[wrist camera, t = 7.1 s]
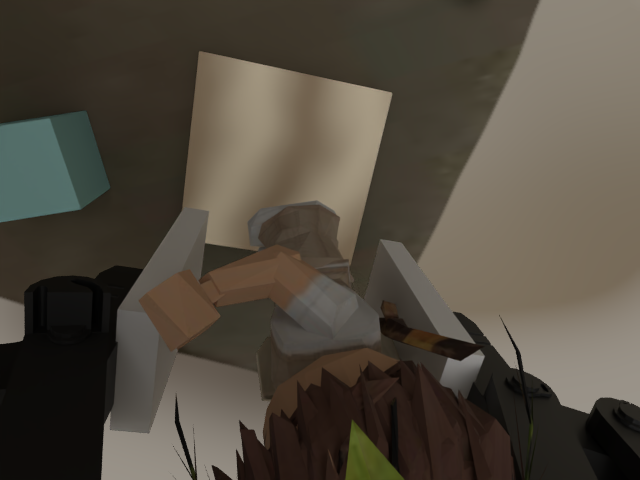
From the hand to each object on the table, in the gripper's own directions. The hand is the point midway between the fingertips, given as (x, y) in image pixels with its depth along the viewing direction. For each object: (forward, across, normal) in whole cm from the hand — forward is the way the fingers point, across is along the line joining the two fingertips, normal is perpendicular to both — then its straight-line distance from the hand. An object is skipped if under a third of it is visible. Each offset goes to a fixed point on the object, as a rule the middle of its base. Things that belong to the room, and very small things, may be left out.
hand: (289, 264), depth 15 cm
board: (+17, 0, 0) cm, 17 cm away
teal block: (+17, -14, -2) cm, 22 cm away
